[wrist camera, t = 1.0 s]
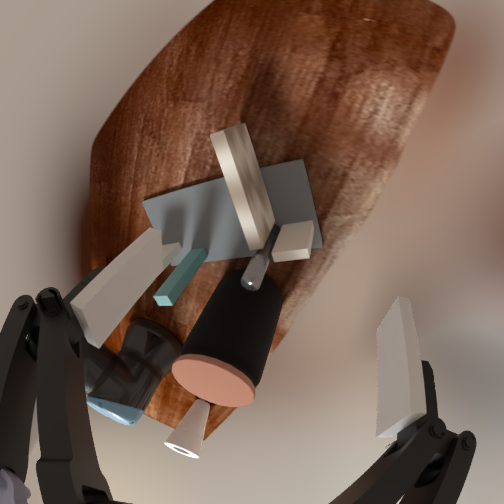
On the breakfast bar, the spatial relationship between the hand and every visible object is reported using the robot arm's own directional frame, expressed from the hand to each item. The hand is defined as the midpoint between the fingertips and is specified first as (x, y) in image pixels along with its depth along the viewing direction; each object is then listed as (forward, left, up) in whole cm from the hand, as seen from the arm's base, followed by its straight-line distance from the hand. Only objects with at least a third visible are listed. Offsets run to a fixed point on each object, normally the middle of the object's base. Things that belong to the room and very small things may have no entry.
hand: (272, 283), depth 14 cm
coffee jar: (-13, -17, -22) cm, 31 cm away
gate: (-6, +1, -21) cm, 22 cm away
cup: (-43, -61, -22) cm, 78 cm away
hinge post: (-6, -7, -22) cm, 24 cm away
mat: (-13, -4, -22) cm, 26 cm away
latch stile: (-19, -9, -22) cm, 30 cm away
